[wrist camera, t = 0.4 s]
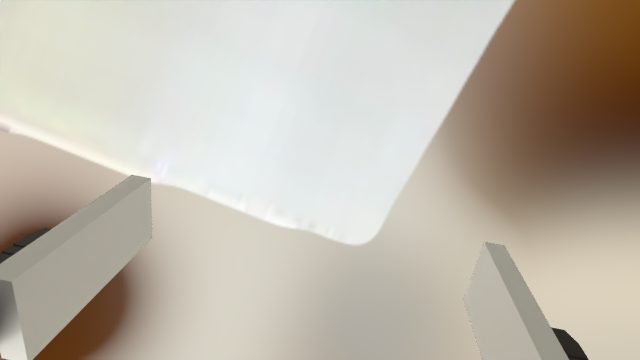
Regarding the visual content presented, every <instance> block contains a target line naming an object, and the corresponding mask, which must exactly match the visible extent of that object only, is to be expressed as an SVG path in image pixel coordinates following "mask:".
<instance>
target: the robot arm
mask: <svg viewBox="0 0 640 360" xmlns="http://www.w3.org/2000/svg"><path fill="white" fill-rule="evenodd" d="M151 212H152V211H151V178H146V177H140V176H135V175H131V176H130V177H128V178H127V179H125V180H124V181H122V182H121V183H120V184H118V185H116V186H115V187H114V188H112V189H111V190H109V191H108V192H106V193H105V194H103V195H102V196H100V197H99V198H97V199H96V200H94V201H93V202H91V203H90V204H88V205H87V206H85V207H84V208H83V209H81V210H80V211H78V212H76V213H75V214H73V215H72V216H70V217H69V218H67V219H66V220H65V221H63V222H62V223H60V224H59V225H57V226H56V227H54V228H53V229H49V228H44V229H42V230H39V231H36V232H34V233H31V234H28V235H26V236H25V237H23V238H22V239H20V240H19V241H17V242H15V243H14V244H13V246H9V247H8V248H6V249H5V250H3V251H2V253H1V254H0V353H1V357H2V358H4V359H9V360H32V359H33V358H34V357H35V356H36V355H37V354H38V353H39V352H40V351H41V350H42V349H43V348H44V347H45V346H46V345H47V344H48V343H49V342H50V341H51V340H52V339H53V338H54V337H55V336H56V335H57V334H58V333H59V332H60V331H61V330H62V329H63V328H64V327H65V326H66V325H67V324H68V323H69V322H70V321H71V320H72V319H73V318H74V317H75V316H76V315H77V314H78V313H79V312H80V311H81V310H82V309H83V308H84V307H85V305H86V304H87V303H88V302H89V301H90V300H91V299H92V298H93V297H94V296H95V295H96V294H97V293H98V292H99V291H100V290H101V289H102V288H103V287H104V286H105V285H106V284H107V283H108V282H109V281H110V280H111V279H112V278H113V277H114V276H115V275H116V274H117V273H118V272H119V271H120V270H121V269H122V268H123V267H124V266H125V265H126V264H127V263H128V262H129V261H130V260H131V259H132V258H133V256H135V255H136V254H137V253H138V252H139V251H140V250H141V248H142V247H143V246H144V245H145V244H146V243H147V242H148V241H149V240H150V239H151V238H152V213H151ZM463 300H464V304H465V307H466V310H467V313H468V316H469V319H470V323H471V326H472V329H473V332H474V335H475V339H476V342H477V345H478V348H479V351H480V354H481V357H482V360H588V358H587V356H586V355H585V353H584V351H583V350H582V348H581V347H580V345H579V344H578V343H577V342H576V341H575V340H574V339H573V338H572V337H571V336H570V335H569V334H568V333H567V332H566V331H564V330H561V329H556V328H551V327H550V325H549V323H548V321H547V320H546V318H545V316H544V314H543V313H542V311H541V309H540V307H539V306H538V304H537V302H536V300H535V298H534V297H533V295H532V293H531V292H530V290H529V288H528V286H527V284H526V283H525V281H524V279H523V277H522V276H521V274H520V272H519V270H518V268H517V267H516V265H515V263H514V261H513V260H512V258H511V256H510V254H509V252H508V251H507V249H506V247H505V246H504V245H499V244H494V243H488V242H484V244H483V246H482V249H481V252H480V254H479V257H478V260H477V263H476V265H475V268H474V271H473V274H472V277H471V279H470V282H469V285H468V287H467V290H466V293H465V295H464V298H463Z"/></svg>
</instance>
